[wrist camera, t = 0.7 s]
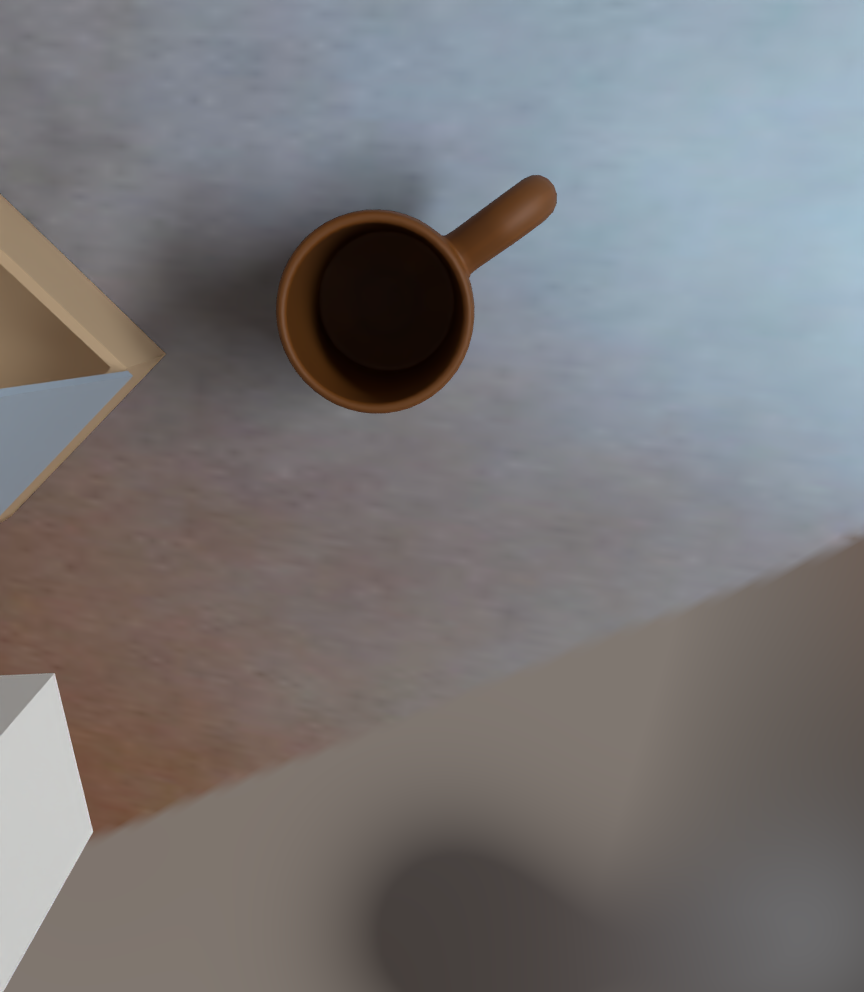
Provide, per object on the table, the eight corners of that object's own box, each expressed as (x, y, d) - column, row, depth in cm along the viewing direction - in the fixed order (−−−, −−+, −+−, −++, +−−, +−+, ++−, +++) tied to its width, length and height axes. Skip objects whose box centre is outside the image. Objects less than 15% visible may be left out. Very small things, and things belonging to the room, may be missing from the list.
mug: (483, 127, 33) (505, 77, 24) (569, 269, 35) (619, 272, 26) (277, 282, 35) (228, 289, 26) (370, 408, 37) (353, 455, 28)
